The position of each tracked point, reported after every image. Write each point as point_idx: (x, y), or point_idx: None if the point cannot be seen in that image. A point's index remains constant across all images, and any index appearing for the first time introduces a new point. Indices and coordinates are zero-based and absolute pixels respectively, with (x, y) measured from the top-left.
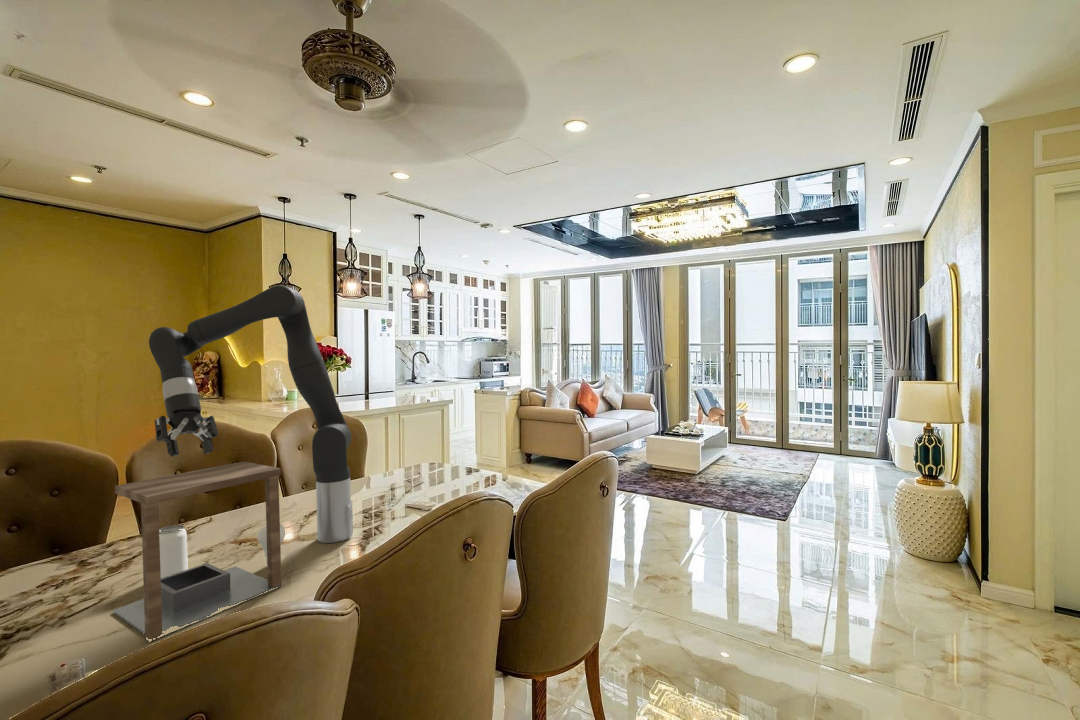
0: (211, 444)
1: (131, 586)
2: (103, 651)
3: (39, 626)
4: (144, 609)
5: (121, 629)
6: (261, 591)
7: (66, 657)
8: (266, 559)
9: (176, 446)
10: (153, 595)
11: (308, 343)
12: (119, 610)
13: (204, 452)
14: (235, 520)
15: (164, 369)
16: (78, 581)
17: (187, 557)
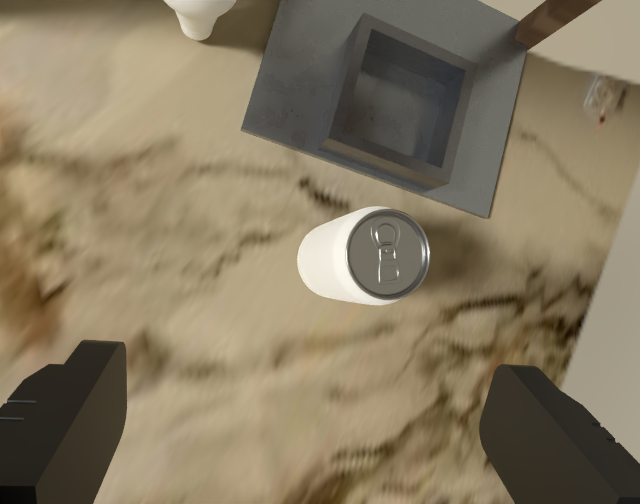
0: (2, 426)
1: (391, 319)
2: (566, 91)
3: (550, 312)
4: (572, 19)
5: (517, 132)
6: None
7: (590, 137)
8: (211, 27)
9: (568, 419)
10: None
11: None
12: (485, 200)
13: (117, 436)
14: None
15: None
16: (405, 500)
17: (317, 231)
